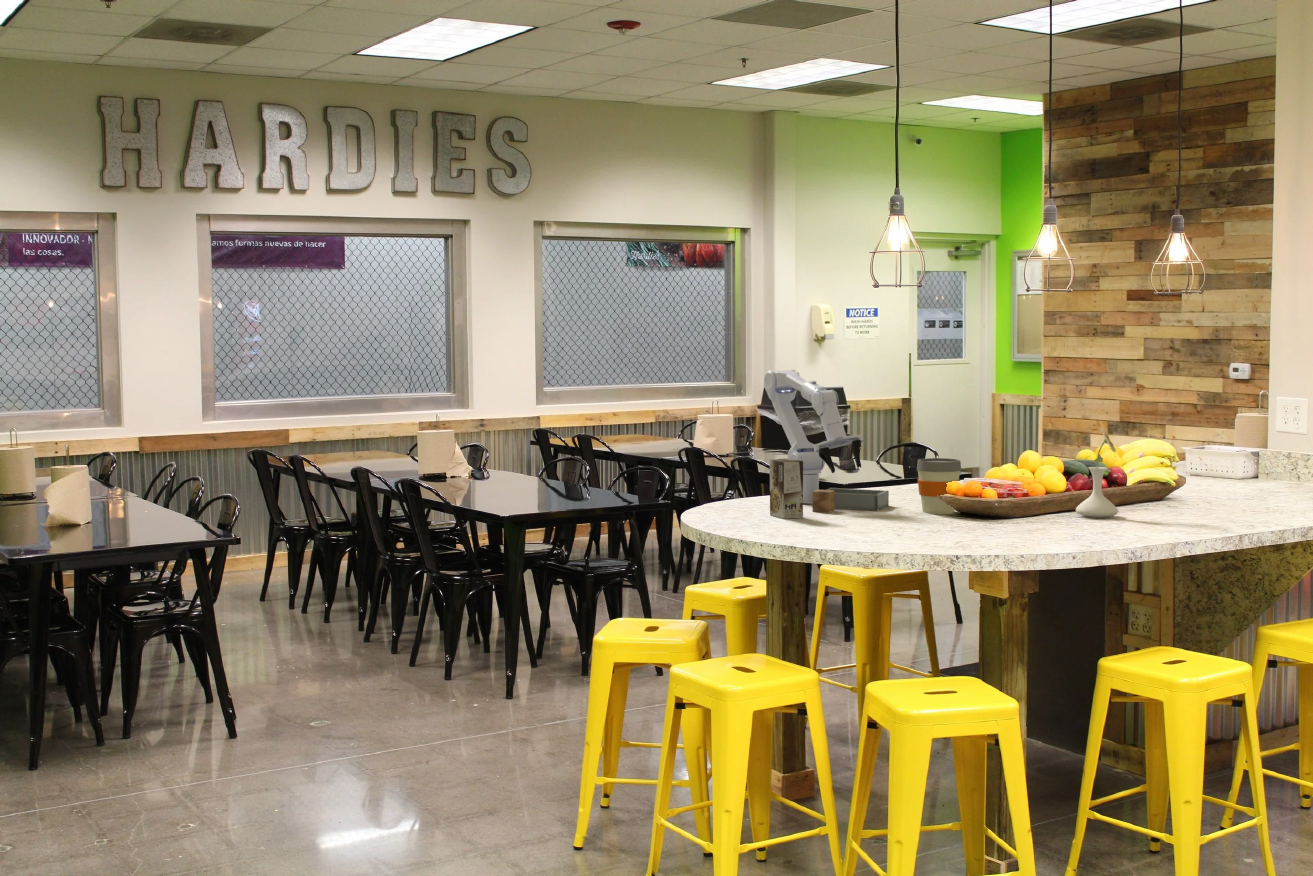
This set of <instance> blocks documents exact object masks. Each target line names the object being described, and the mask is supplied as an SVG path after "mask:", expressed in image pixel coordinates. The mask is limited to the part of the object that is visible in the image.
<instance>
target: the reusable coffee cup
mask: <svg viewBox="0 0 1313 876" xmlns="http://www.w3.org/2000/svg"><path fill="white" fill-rule="evenodd" d="M961 463H962V461H961V460H960V459H958V458H956V459H955V458H944V457H943V458H942V457H941V458H940V457H934V458H932V457H930V458H918V459H917V466H916V470H917V474H918V478H917V486H918V494H919V495H920V500H921V508H922V513H925V514H930V515H948V514H949V515H950V514H955V510H956V508H955V509H954V508H953V507H951V506H950V505H947V504H946V503H945V502H943V501H942V500H940V499H939V498H937V495H938V496H940V495H944V494H947V491H946V487H947V484H946V483H948V482H952V481H960V482H961V479H960V474H961V471H962V464H961Z"/></svg>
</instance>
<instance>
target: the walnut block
mask: <svg viewBox="0 0 1313 876" xmlns="http://www.w3.org/2000/svg"><path fill="white" fill-rule="evenodd" d="M834 500H835V490H827V489H819V490H815V491H813V504H812V512H813V513H825V514H826V513H832V512H834V511H835V508H834Z"/></svg>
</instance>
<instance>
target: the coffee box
mask: <svg viewBox="0 0 1313 876" xmlns="http://www.w3.org/2000/svg"><path fill="white" fill-rule="evenodd" d="M769 516H771V517H772V516H773V517H776V518H781V519H783V520H786V519H800V518H801V519H803V518H804V503H803V461H800V460H794V459H788V458H776V459H769Z"/></svg>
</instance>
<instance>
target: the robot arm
mask: <svg viewBox="0 0 1313 876" xmlns="http://www.w3.org/2000/svg"><path fill="white" fill-rule="evenodd" d="M763 387H764V390H765V391H766V394H767V396H768V399H769V400H771V403H772V406H773V408H774V410H775V414H776V415H777V418H778V420H779V422H780V424H781V426H782V429H783V431H784V433H785V436H786V438H787V440H788V442H789V445H790V449H788V452H787V459H794V460H800V461H803V504H809V505H813V491H815V490H820V489H819V484H820V481H819V479H820V475H819V474H821V473H822V470H824V467H825V464H826V465H827V466H828V469H829V470H830V471H831V473H832V474H834V473H835V471H836V469H835V465H834V462H833V460H832V456H831V452H830V451H831V450H832V449H835V448H839V447H840V448H841V447H844V446H850V445H851V449H850V451H851V453H852V455H853V457H854V458H853V459H854V461H855V465H856V467H857V468H861V460H860V459H861V458H860V455H861V444H862V443H863V442H864V438H863V435H862V434H855V435H854V434H853V435H847V433H846V430H845V427H844V423H843V421H842V418H841V415H840V411H839V408H838V405H839V399H840V398H839V395H838V393H837V391H835V389H826V388H825V386H824V385H819V384H817V380H808V381H807V380H805V379H804V378H803V377H801V376H800V373H799V371H796V370H795V369H791V370H771V369H770V370H768V371H766V373H765V375H764V378H763ZM797 391H799V393H800V396H801V397H802V398H803V399H805V400H806V401H808V402H809V403H811V407H812V408H813V410H815V412H816V414H817V415H818V417H819V419H820V422H821V425H822V427H823V431H824V434H825V438H826V440H825V441H821V442H819V443H815V444H814V443H812V442H810V441H809V440H808V438H807V436H806V433H805V431H804V429H803V427H802V425H801V422H800V420H799V418H798V416H797V414H796V412H795V409H794V407H793V405H792V403H791V402H792V401H793V400H795V399H796V398H795V397H796V394H797Z"/></svg>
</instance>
